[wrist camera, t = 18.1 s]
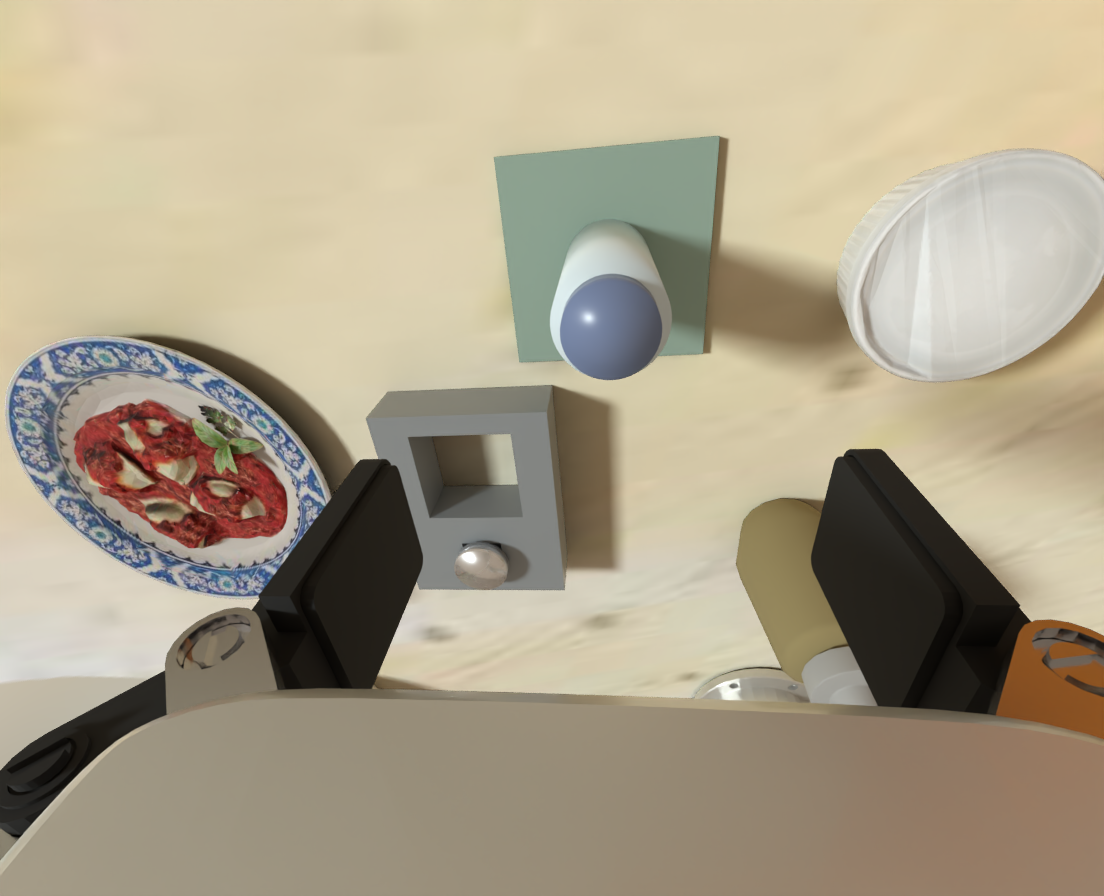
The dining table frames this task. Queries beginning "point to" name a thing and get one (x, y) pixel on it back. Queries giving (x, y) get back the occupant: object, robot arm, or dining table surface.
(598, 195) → the mat
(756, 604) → the squeeze bottle
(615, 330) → the cylinder
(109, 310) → the dining table surface
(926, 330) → the ramekin
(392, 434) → the housing
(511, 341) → the dining table surface
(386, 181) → the dining table surface
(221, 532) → the ceramic plate
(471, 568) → the plunger
